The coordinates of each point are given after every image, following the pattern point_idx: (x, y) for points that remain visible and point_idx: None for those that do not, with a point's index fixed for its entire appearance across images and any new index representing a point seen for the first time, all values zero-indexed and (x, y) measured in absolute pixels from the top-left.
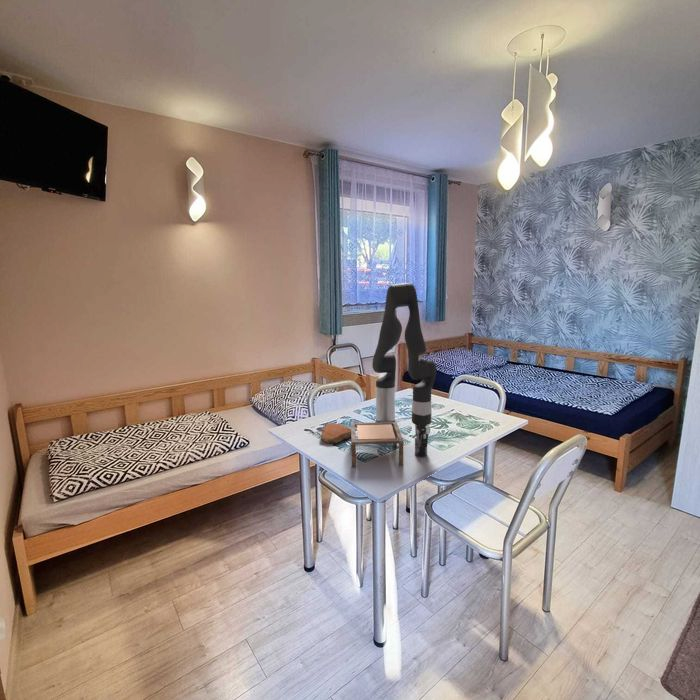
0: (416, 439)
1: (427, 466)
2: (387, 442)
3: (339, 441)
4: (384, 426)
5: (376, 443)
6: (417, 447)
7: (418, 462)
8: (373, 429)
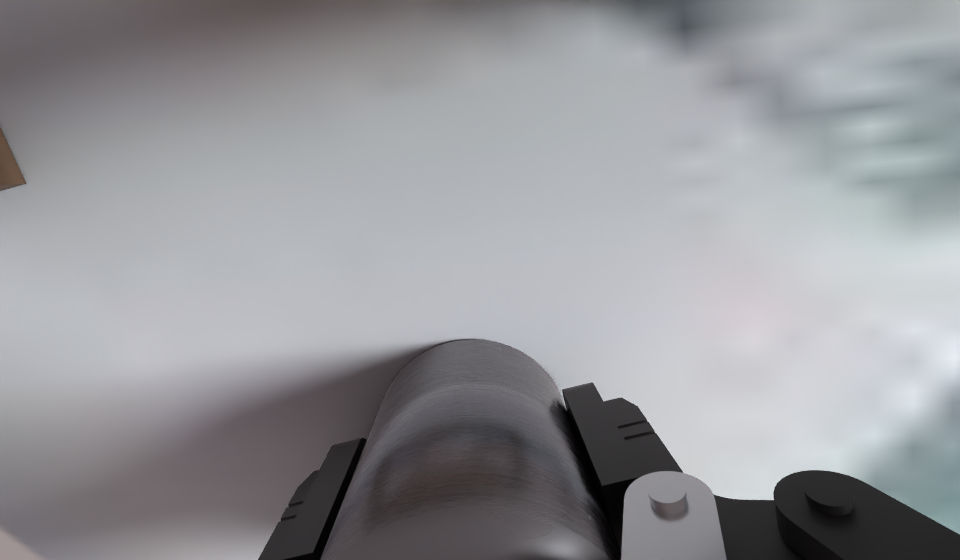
0: (463, 552)
1: (112, 529)
2: None
3: None
4: None
5: None
6: (358, 471)
7: (188, 412)
8: None
